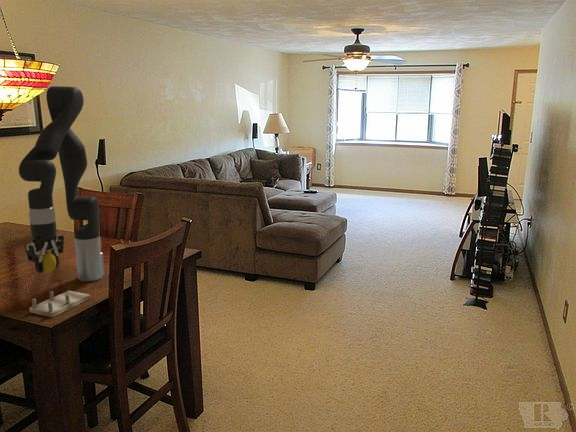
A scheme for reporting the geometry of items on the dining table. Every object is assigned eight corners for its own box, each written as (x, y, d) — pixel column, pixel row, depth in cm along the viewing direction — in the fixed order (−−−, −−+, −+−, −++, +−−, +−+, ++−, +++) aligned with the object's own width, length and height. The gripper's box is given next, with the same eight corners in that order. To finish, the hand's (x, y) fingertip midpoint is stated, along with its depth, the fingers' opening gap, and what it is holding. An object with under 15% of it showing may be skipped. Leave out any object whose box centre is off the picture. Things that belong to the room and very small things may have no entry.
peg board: (69, 294, 176) (68, 282, 174) (90, 298, 172) (89, 286, 171) (29, 312, 160) (28, 299, 159) (52, 317, 157) (50, 304, 156)
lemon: (35, 274, 159) (33, 251, 157) (51, 269, 163) (49, 247, 161) (44, 277, 156) (42, 254, 154) (60, 273, 160) (58, 250, 158)
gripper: (52, 215, 163) (56, 261, 167) (14, 224, 150) (20, 274, 154) (68, 217, 161) (73, 264, 164) (32, 226, 147) (38, 278, 151)
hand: (47, 269), depth 159 cm, fingers closed on lemon, 5 cm apart
